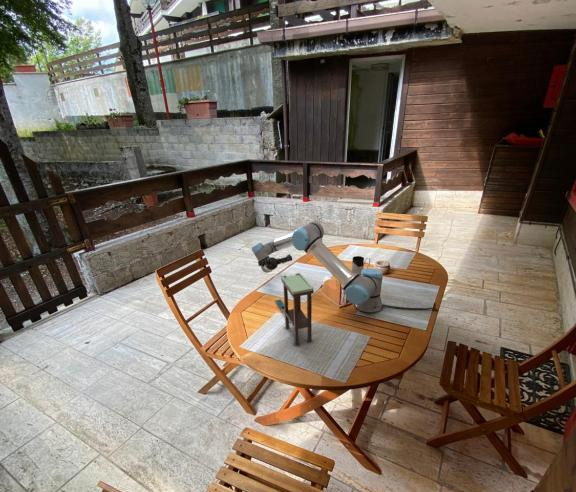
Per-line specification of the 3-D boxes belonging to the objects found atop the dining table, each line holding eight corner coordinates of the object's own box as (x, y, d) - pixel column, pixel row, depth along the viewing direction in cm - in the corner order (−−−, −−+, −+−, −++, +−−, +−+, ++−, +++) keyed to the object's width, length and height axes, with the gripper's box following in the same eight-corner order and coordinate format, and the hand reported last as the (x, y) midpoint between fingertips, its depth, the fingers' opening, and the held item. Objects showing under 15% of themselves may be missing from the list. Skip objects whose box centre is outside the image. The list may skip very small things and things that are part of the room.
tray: (281, 278, 155) (281, 275, 154) (300, 274, 157) (300, 272, 157) (293, 294, 140) (292, 292, 140) (313, 290, 143) (313, 288, 142)
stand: (283, 327, 170) (281, 277, 155) (301, 323, 172) (300, 274, 157) (294, 346, 155) (292, 294, 140) (313, 342, 158) (313, 290, 143)
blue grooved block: (275, 302, 193) (275, 300, 193) (280, 301, 194) (280, 299, 193) (288, 322, 174) (288, 320, 173) (293, 321, 174) (293, 319, 174)
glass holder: (347, 277, 219) (349, 257, 211) (364, 273, 223) (366, 253, 216) (354, 282, 212) (356, 261, 204) (372, 278, 216) (374, 257, 209)
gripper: (291, 266, 197) (300, 261, 176) (252, 273, 191) (257, 269, 170) (288, 255, 196) (298, 248, 176) (249, 261, 190) (254, 255, 170)
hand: (278, 258), depth 173 cm, fingers open, 13 cm apart
